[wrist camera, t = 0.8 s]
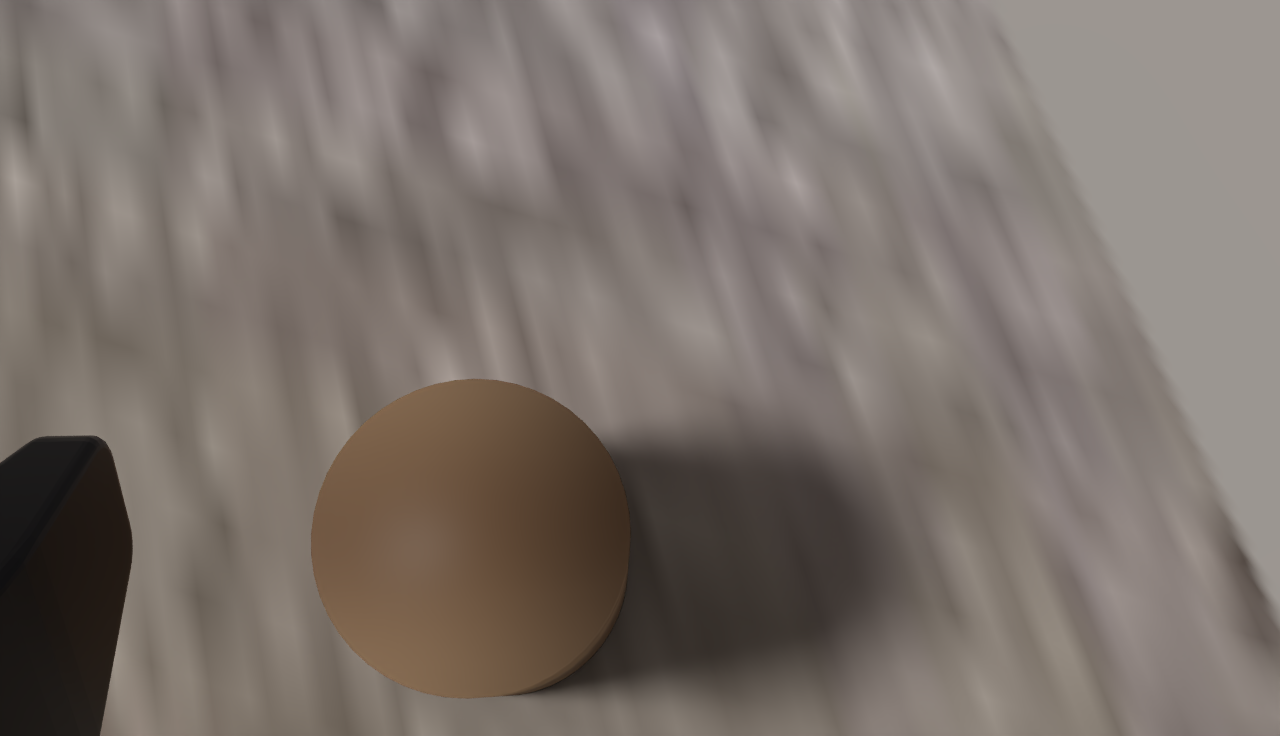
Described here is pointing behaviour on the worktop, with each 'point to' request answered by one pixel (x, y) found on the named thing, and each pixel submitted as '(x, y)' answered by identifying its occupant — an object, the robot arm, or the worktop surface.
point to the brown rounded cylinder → (473, 540)
